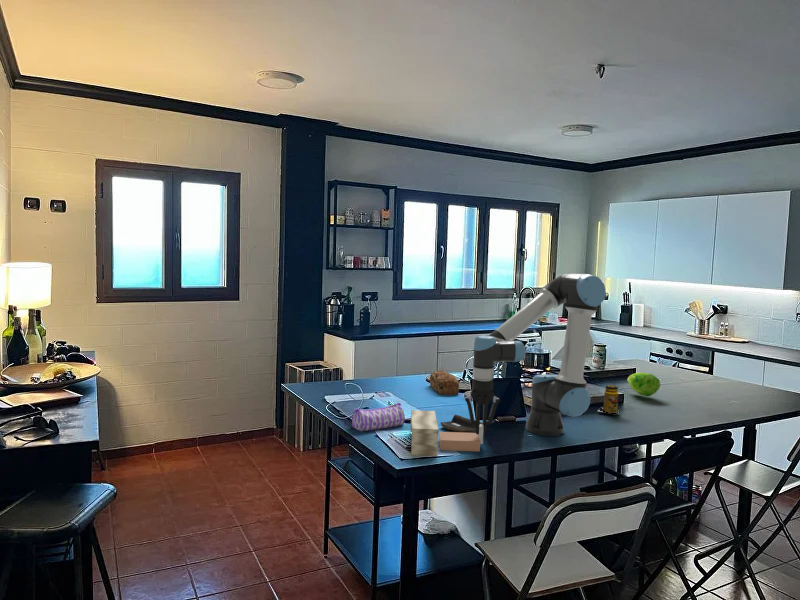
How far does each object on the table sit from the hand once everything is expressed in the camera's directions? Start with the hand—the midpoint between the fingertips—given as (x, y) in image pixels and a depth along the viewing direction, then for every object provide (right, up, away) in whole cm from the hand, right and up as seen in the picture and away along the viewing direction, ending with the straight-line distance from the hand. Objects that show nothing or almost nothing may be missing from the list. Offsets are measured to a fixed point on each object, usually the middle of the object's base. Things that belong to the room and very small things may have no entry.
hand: (480, 442), depth 217 cm
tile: (-8, -2, 0) cm, 8 cm away
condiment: (+67, 0, +58) cm, 88 cm away
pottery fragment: (-7, -1, +18) cm, 19 cm away
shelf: (-22, -1, 0) cm, 22 cm away
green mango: (+97, +2, +96) cm, 137 cm away
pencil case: (-38, +1, +18) cm, 42 cm away
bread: (-7, +5, +85) cm, 85 cm away
